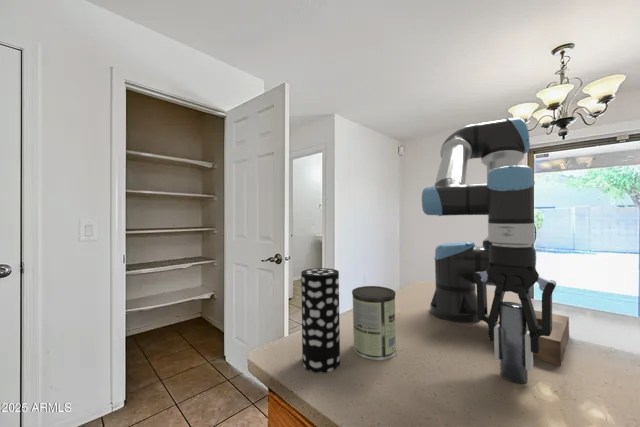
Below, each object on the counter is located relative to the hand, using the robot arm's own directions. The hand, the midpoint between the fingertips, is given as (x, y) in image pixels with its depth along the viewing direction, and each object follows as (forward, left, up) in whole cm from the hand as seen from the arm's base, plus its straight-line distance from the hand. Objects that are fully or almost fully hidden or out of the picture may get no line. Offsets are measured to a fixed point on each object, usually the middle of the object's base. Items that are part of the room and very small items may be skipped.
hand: (513, 362), depth 54 cm
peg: (0, 0, -3) cm, 3 cm away
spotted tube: (-31, -23, -3) cm, 39 cm away
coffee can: (-26, -10, -3) cm, 28 cm away
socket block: (0, +22, -3) cm, 22 cm away
